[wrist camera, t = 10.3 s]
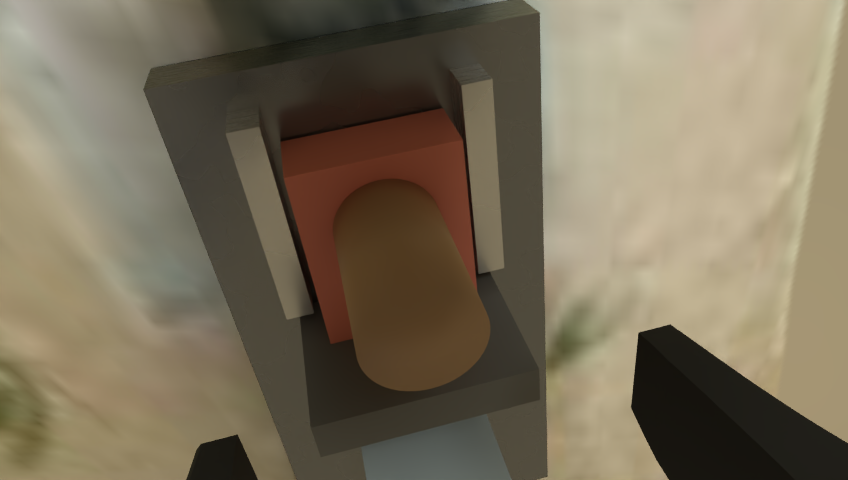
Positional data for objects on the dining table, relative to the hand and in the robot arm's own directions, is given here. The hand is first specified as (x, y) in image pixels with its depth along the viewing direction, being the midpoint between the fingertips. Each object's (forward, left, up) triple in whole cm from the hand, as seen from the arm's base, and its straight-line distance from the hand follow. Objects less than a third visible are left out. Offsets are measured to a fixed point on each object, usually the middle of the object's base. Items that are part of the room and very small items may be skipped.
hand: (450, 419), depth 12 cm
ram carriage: (-2, 0, -9) cm, 9 cm away
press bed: (-6, 0, -10) cm, 12 cm away
